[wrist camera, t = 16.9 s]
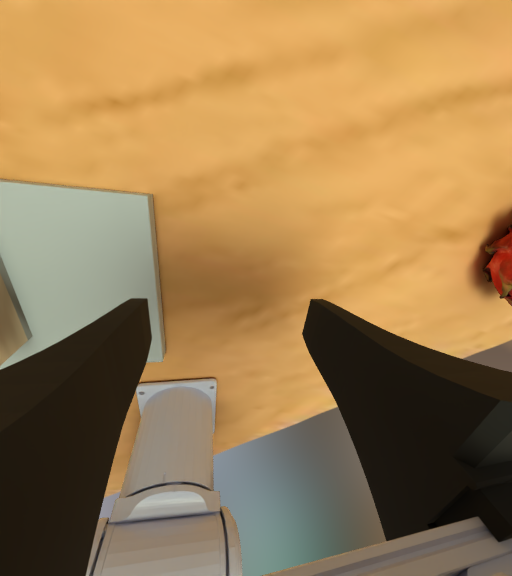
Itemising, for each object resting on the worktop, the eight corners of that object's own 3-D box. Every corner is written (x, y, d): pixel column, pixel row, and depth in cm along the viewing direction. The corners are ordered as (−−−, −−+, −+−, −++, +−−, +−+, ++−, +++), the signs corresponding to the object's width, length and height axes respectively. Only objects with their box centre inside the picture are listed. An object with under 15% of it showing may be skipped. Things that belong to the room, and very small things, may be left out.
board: (165, 350, 21) (162, 361, 20) (-111, 361, 17) (-137, 377, 16) (152, 194, 15) (147, 196, 14) (-281, 150, 11) (-348, 147, 10)
